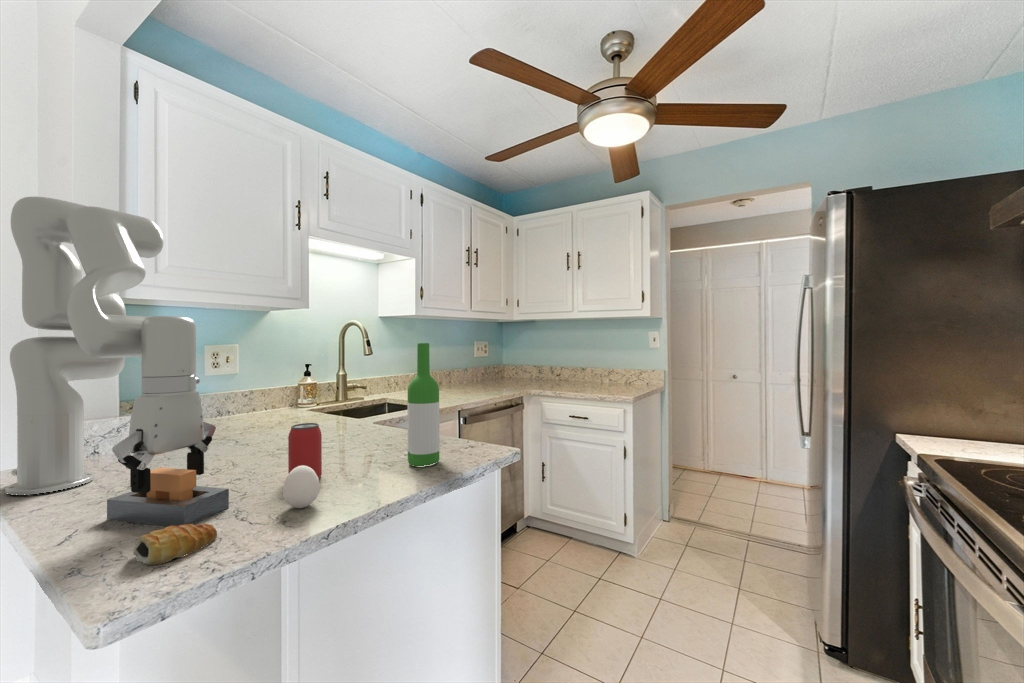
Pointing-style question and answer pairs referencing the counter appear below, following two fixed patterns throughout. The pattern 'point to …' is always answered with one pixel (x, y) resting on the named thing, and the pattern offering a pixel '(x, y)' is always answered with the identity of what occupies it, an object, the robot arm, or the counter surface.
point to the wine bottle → (423, 413)
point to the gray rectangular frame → (168, 507)
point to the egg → (301, 487)
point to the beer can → (305, 447)
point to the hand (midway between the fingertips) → (169, 482)
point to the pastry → (173, 542)
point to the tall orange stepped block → (172, 484)
